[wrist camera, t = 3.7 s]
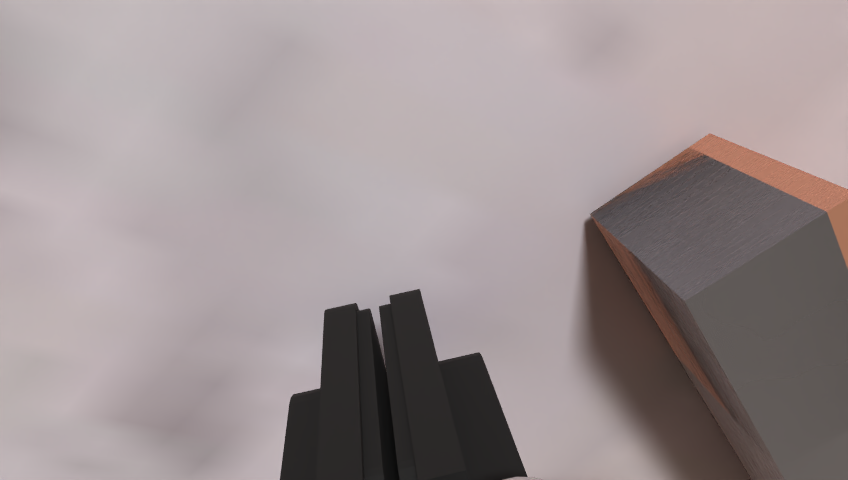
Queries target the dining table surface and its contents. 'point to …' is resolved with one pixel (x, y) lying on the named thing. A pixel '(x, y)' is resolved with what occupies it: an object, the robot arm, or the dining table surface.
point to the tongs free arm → (748, 297)
